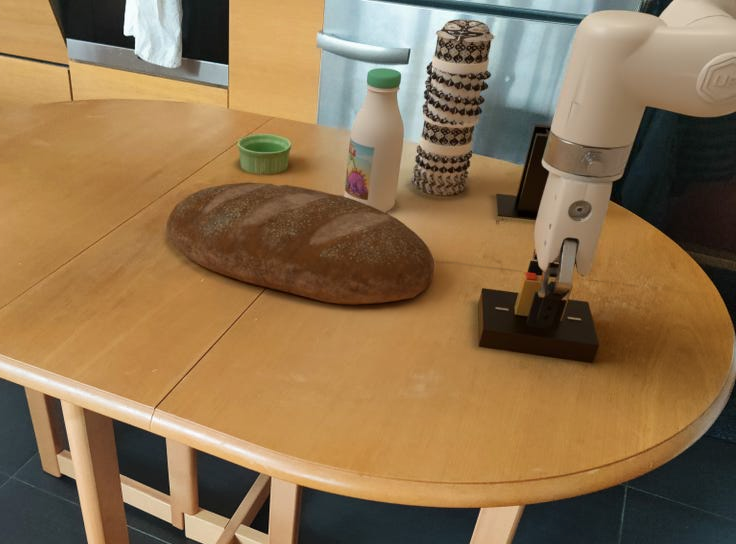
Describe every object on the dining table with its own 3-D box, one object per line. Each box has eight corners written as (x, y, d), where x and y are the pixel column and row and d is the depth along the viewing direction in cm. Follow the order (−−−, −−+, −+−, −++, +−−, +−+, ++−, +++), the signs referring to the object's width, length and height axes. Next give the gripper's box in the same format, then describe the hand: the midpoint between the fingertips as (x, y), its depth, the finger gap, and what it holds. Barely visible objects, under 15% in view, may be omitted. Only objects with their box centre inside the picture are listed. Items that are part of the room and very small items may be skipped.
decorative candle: (422, 206, 110) (451, 31, 95) (399, 182, 117) (423, 17, 102) (476, 201, 112) (513, 29, 97) (450, 178, 119) (481, 15, 104)
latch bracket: (561, 207, 110) (585, 125, 103) (566, 230, 104) (593, 144, 97) (494, 200, 112) (513, 118, 105) (496, 222, 106) (516, 137, 98)
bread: (399, 337, 81) (409, 273, 76) (132, 260, 95) (126, 201, 90) (451, 257, 97) (462, 199, 92) (215, 200, 111) (214, 147, 106)
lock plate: (581, 323, 84) (588, 300, 83) (591, 367, 77) (600, 343, 76) (477, 308, 87) (482, 286, 85) (477, 351, 80) (483, 327, 78)
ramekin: (267, 154, 126) (268, 130, 124) (301, 170, 121) (302, 144, 118) (227, 166, 122) (226, 140, 119) (260, 183, 116) (260, 156, 114)
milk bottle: (388, 196, 113) (406, 64, 101) (398, 218, 107) (419, 79, 95) (339, 197, 112) (351, 64, 100) (347, 219, 106) (361, 79, 94)
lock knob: (560, 313, 80) (571, 277, 78) (561, 321, 79) (573, 284, 76) (514, 307, 81) (524, 271, 78) (514, 314, 80) (525, 278, 77)
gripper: (644, 193, 62) (583, 359, 72) (612, 128, 75) (565, 276, 86) (553, 183, 63) (507, 348, 74) (538, 121, 77) (501, 268, 87)
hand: (539, 308), depth 80 cm, fingers open, 6 cm apart
